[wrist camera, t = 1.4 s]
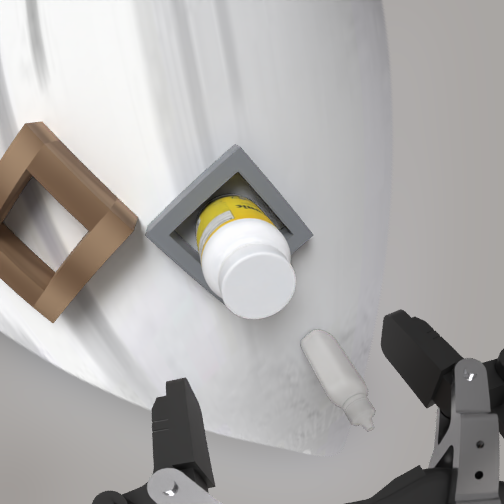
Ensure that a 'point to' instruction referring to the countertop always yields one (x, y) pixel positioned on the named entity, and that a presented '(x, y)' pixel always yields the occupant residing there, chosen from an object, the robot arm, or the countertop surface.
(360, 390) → the eye dropper bottle
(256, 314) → the supplement bottle
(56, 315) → the socket block
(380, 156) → the countertop surface
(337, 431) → the countertop surface
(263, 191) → the holder
